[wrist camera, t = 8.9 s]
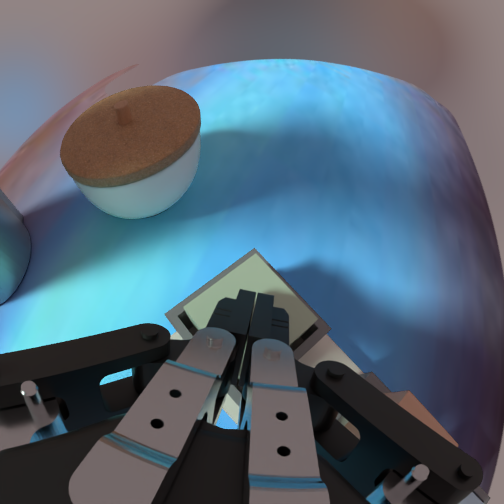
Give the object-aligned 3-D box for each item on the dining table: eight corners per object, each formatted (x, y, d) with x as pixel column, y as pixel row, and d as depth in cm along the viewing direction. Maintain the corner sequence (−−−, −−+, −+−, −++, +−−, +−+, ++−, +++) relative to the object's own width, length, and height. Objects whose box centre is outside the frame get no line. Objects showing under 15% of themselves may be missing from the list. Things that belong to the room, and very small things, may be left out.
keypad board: (170, 341, 19) (151, 324, 14) (260, 274, 22) (266, 239, 17) (392, 552, 11) (422, 574, 6) (458, 481, 13) (497, 487, 9)
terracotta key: (312, 455, 11) (334, 470, 8) (374, 394, 13) (409, 390, 10) (364, 501, 10) (395, 520, 7) (419, 441, 11) (458, 445, 8)
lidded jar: (180, 136, 28) (169, 57, 20) (228, 206, 24) (227, 113, 16) (85, 178, 25) (50, 105, 17) (110, 264, 21) (55, 188, 13)
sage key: (193, 325, 16) (183, 307, 13) (252, 280, 18) (255, 253, 15) (243, 385, 15) (245, 382, 12) (302, 334, 16) (318, 318, 13)
